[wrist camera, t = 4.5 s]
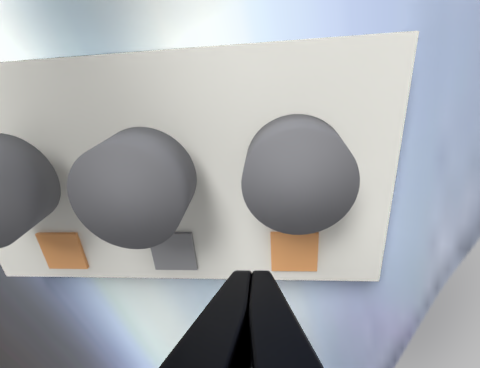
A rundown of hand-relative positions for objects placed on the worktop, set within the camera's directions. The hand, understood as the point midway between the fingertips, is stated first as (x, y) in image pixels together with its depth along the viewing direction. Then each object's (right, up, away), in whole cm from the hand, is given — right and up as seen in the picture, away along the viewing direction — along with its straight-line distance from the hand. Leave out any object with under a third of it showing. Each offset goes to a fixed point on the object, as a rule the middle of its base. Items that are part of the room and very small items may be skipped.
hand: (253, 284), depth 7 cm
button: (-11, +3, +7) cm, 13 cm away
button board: (-4, +3, +10) cm, 11 cm away
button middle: (-4, +3, +6) cm, 8 cm away
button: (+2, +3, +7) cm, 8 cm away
